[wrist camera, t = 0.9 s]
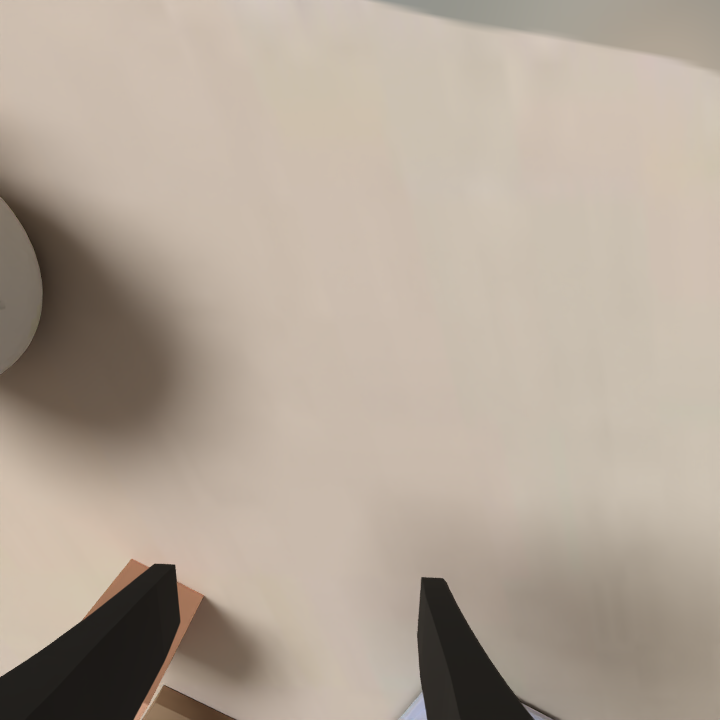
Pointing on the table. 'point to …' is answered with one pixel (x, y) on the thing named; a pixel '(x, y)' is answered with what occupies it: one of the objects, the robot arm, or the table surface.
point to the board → (180, 708)
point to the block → (187, 608)
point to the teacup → (17, 289)
